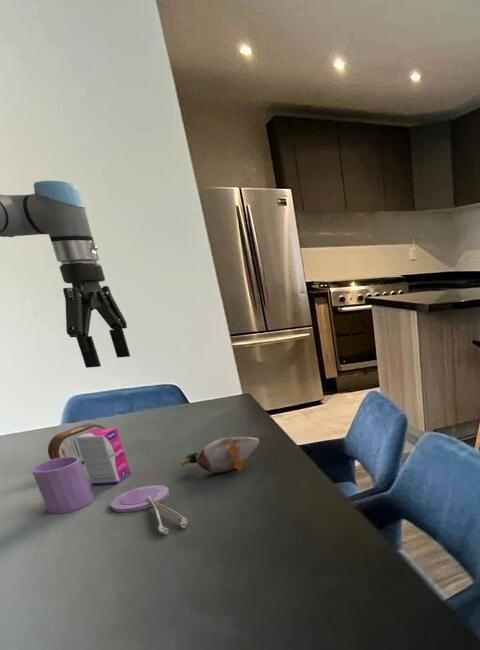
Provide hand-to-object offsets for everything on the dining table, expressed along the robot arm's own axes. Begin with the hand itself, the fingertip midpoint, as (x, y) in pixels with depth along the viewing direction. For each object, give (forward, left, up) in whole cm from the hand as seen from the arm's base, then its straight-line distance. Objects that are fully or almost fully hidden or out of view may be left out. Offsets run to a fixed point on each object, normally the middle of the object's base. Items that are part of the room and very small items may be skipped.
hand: (109, 361), depth 114 cm
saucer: (+2, -28, -24) cm, 37 cm away
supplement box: (-5, -12, -25) cm, 28 cm away
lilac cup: (-11, -22, -24) cm, 34 cm away
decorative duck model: (+19, -19, -25) cm, 36 cm away
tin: (-13, +7, -25) cm, 29 cm away
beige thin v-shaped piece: (+7, -38, -24) cm, 45 cm away
